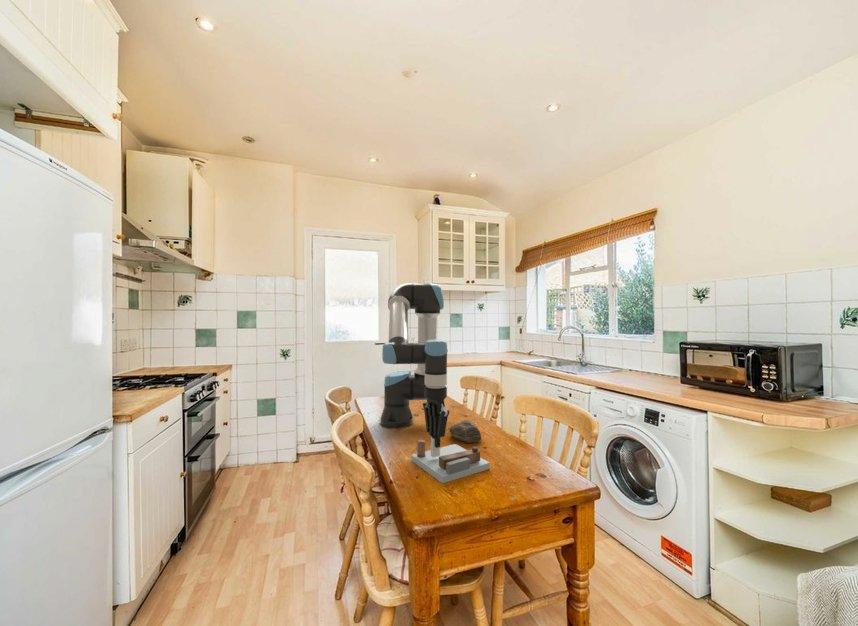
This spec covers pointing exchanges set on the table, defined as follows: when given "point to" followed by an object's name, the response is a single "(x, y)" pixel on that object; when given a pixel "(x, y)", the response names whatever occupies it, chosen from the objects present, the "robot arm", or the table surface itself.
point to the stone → (466, 431)
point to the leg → (460, 457)
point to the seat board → (441, 474)
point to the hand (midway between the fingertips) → (435, 455)
